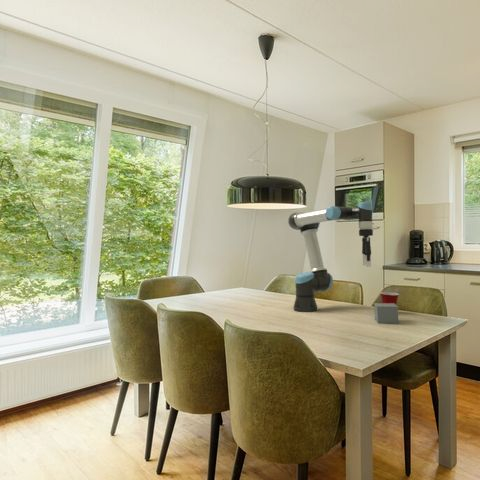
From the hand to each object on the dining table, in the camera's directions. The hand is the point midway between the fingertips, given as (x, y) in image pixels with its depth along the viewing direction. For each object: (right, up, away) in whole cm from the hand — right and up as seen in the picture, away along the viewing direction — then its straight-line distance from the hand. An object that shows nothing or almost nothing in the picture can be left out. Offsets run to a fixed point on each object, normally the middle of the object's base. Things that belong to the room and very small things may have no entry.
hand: (366, 266), depth 214 cm
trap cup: (+5, -29, -15) cm, 32 cm away
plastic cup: (+17, -29, +9) cm, 34 cm away
